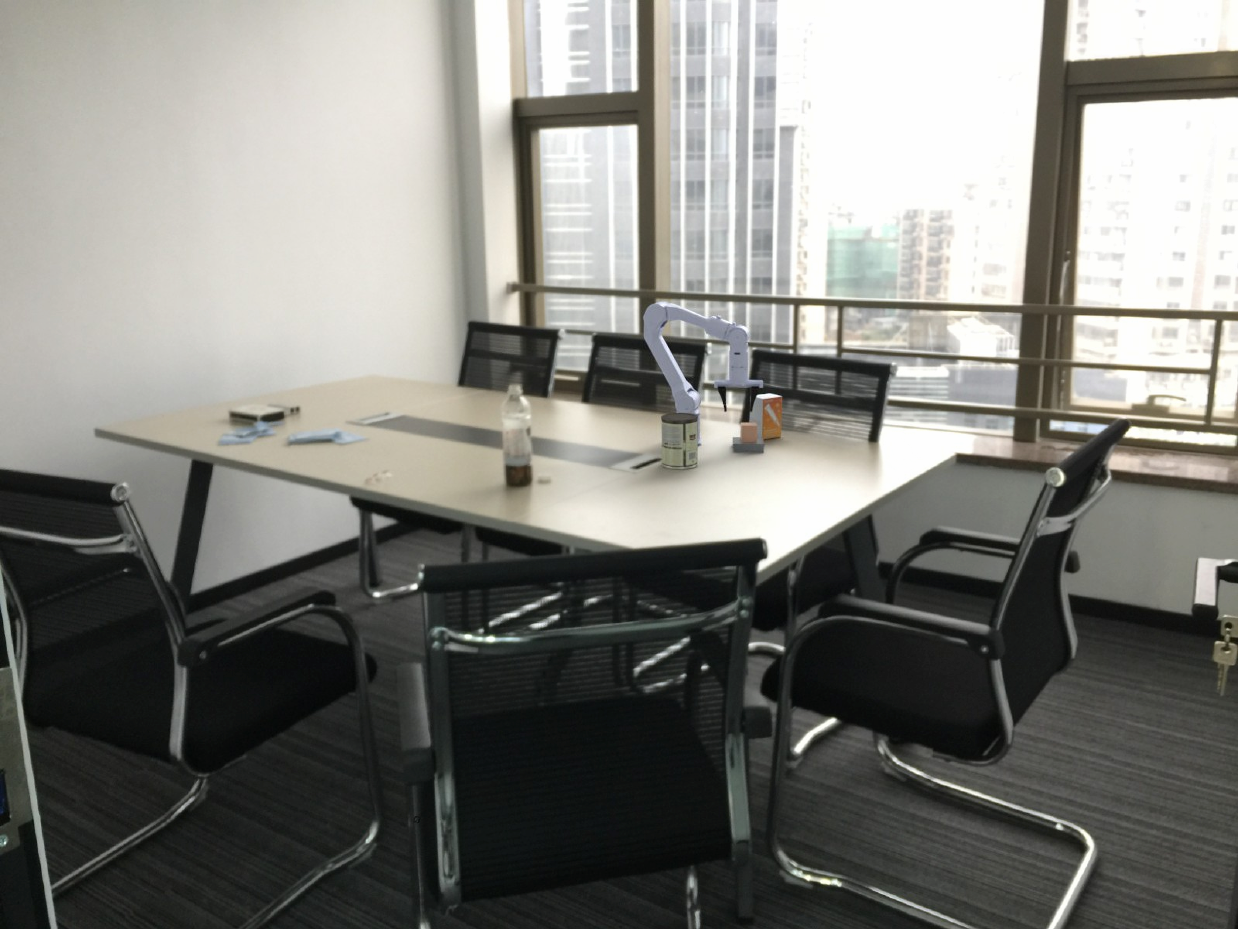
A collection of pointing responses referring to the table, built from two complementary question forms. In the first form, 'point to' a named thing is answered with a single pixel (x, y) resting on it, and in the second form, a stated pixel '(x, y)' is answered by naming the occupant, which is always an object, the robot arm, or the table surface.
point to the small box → (767, 415)
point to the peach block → (748, 432)
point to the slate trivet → (748, 445)
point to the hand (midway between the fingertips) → (738, 411)
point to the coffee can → (679, 440)
